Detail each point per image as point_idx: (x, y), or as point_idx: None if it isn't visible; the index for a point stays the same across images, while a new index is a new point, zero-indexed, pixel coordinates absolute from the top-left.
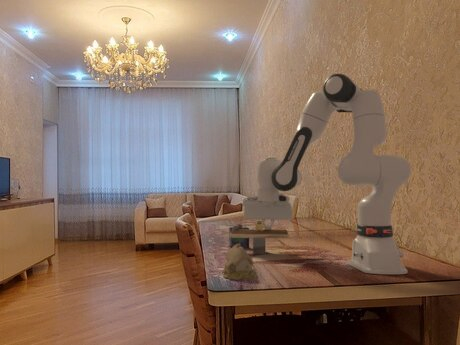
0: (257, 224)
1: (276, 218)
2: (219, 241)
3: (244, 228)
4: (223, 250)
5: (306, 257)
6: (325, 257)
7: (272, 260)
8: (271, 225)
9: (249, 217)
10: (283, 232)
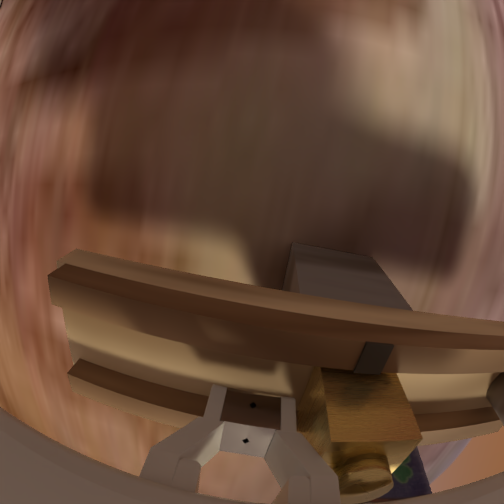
0: (401, 434)
1: (88, 467)
2: None
3: (373, 500)
4: None
5: (66, 117)
6: (4, 129)
7: (285, 21)
8: (200, 422)
9: (502, 486)
10: (88, 280)
